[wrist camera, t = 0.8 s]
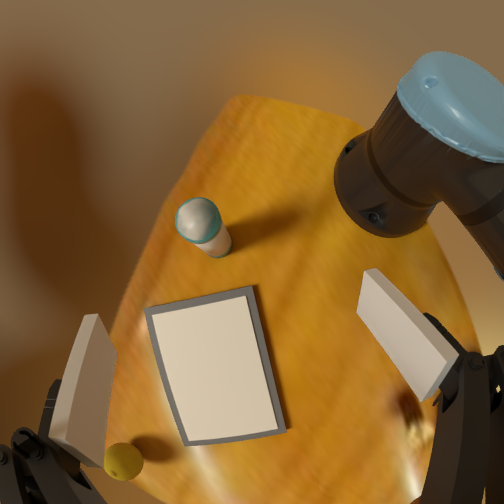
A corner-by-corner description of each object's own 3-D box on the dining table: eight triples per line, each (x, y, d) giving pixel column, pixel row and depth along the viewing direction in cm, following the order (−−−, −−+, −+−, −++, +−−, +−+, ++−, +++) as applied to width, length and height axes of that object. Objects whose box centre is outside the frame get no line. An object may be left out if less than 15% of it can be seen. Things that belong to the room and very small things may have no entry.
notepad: (252, 285, 34) (251, 285, 33) (286, 429, 31) (286, 432, 30) (146, 308, 34) (143, 308, 33) (186, 443, 31) (184, 446, 30)
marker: (229, 225, 35) (214, 192, 23) (235, 255, 34) (223, 235, 22) (200, 232, 35) (172, 203, 23) (206, 261, 34) (179, 246, 22)
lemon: (111, 438, 31) (86, 461, 23) (136, 431, 31) (113, 456, 23) (131, 465, 30) (110, 491, 22) (157, 459, 30) (139, 487, 22)
